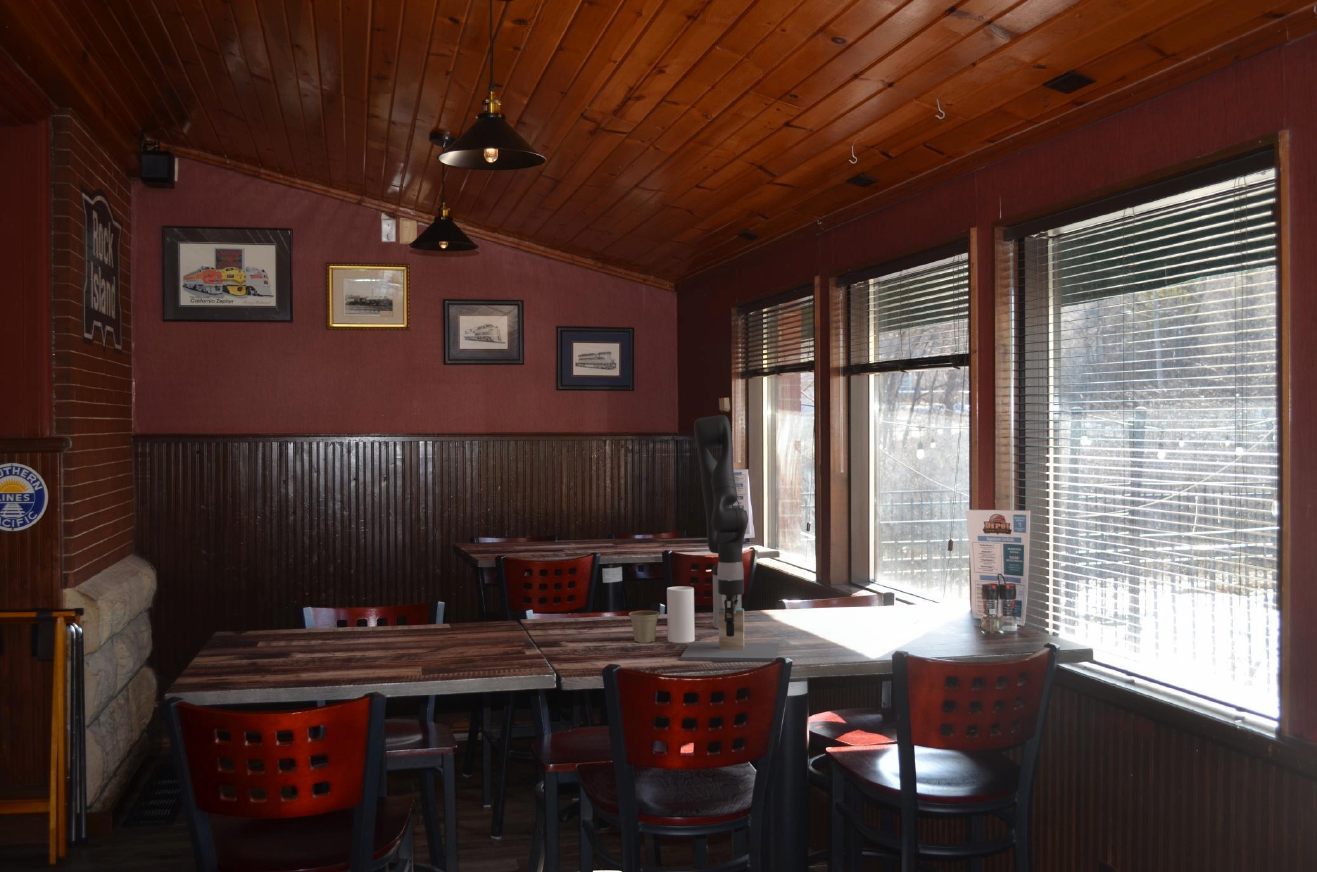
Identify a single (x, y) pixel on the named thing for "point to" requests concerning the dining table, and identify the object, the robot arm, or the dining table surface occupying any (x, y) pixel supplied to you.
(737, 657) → the mat
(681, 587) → the white cylinder
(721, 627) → the block
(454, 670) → the dining table surface
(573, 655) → the dining table surface
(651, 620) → the flower pot
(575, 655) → the dining table surface
